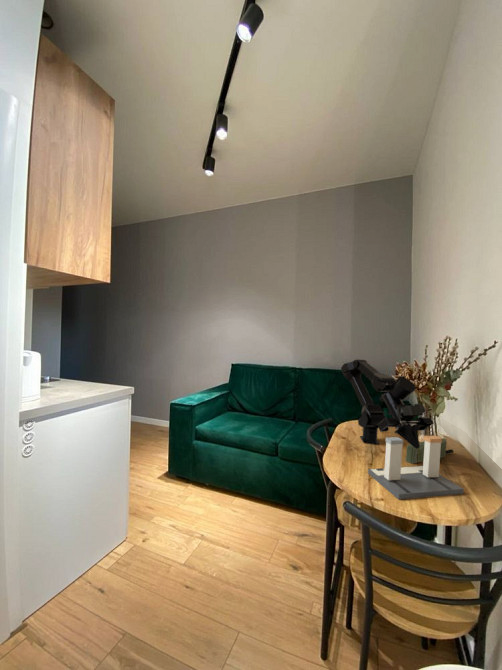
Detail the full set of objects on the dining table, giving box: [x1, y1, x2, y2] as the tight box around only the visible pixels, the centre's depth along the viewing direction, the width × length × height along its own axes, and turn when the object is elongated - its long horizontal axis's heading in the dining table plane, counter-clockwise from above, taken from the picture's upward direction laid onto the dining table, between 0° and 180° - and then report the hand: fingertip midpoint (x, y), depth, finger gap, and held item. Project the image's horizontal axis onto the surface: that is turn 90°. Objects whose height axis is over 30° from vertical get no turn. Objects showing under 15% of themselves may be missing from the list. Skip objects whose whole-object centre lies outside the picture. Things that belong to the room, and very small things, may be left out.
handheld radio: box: [405, 438, 454, 465], centre depth 102 cm, size 7×3×25 cm
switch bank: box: [367, 465, 465, 500], centre depth 84 cm, size 14×22×2 cm, turn 102°
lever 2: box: [422, 435, 443, 478], centre depth 85 cm, size 2×4×12 cm, turn 102°
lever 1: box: [384, 436, 404, 480], centre depth 82 cm, size 2×4×12 cm, turn 102°
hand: (417, 448), depth 90 cm, fingers closed
